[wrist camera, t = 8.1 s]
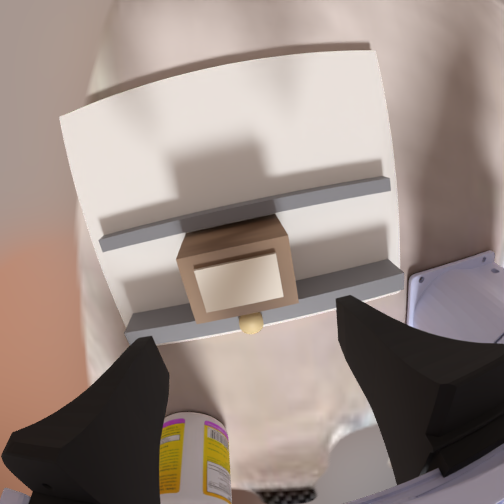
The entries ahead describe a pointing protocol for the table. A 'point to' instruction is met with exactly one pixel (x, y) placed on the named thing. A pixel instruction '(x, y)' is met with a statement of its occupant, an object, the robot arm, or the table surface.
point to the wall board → (241, 183)
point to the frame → (237, 269)
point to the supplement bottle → (194, 460)
